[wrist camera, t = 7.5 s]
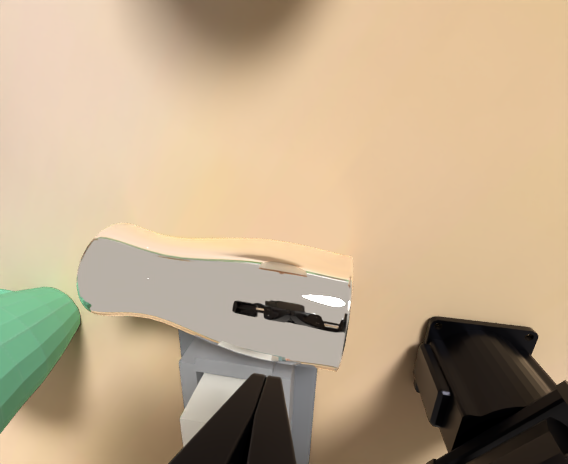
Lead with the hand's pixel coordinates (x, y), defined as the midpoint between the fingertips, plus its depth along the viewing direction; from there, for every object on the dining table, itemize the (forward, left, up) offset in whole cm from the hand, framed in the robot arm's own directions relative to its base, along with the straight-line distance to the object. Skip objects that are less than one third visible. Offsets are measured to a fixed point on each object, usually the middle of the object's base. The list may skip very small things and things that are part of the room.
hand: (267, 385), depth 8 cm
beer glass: (+13, +2, -9) cm, 16 cm away
